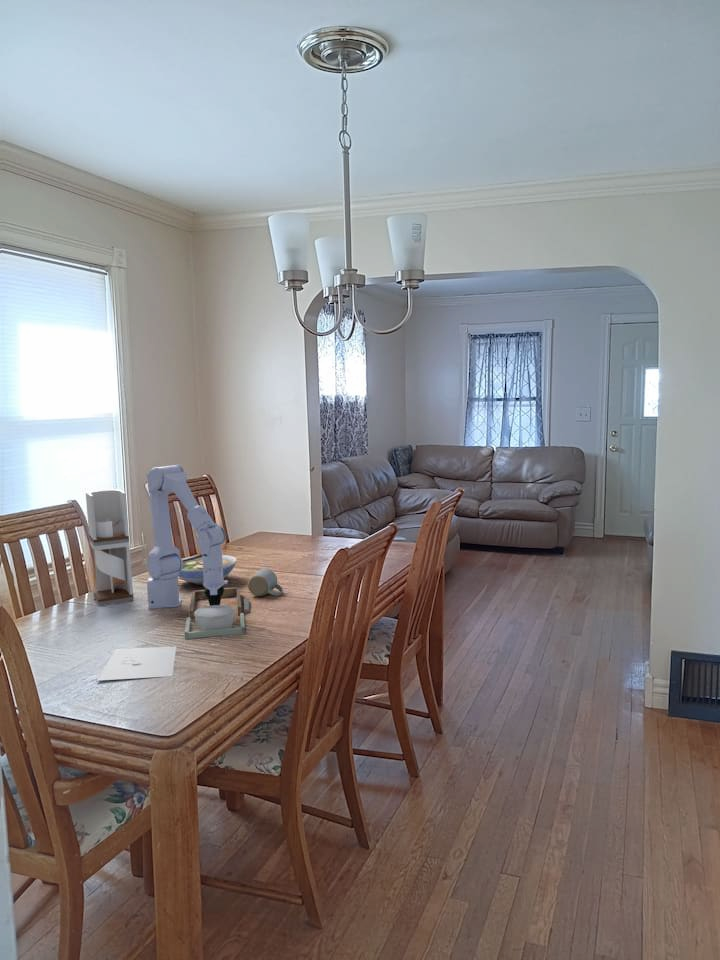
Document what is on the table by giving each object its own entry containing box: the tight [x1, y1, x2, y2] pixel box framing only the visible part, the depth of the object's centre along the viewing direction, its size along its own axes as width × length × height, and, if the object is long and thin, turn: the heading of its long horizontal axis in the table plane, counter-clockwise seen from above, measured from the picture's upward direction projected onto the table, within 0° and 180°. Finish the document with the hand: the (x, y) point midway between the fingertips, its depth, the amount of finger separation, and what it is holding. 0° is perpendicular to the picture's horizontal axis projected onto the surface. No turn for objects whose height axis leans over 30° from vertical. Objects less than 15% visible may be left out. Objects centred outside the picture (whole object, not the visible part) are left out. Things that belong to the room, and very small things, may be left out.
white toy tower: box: [85, 488, 134, 606], centre depth 233 cm, size 11×11×35 cm
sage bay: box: [184, 612, 246, 640], centre depth 202 cm, size 16×14×2 cm
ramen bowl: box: [178, 554, 238, 586], centre depth 252 cm, size 25×23×8 cm
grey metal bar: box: [243, 597, 250, 614], centre depth 221 cm, size 1×12×1 cm, turn 8°
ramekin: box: [194, 604, 236, 631], centre depth 202 cm, size 11×11×5 cm
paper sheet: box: [96, 646, 177, 682], centre depth 178 cm, size 24×29×1 cm
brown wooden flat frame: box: [188, 586, 243, 620], centre depth 223 cm, size 15×23×2 cm, turn 11°
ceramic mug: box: [247, 567, 284, 597], centre depth 234 cm, size 11×8×8 cm
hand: (215, 612), depth 213 cm, fingers closed
